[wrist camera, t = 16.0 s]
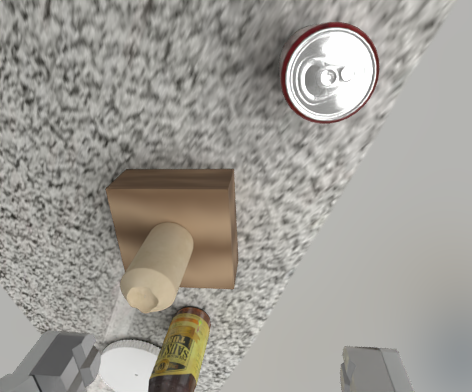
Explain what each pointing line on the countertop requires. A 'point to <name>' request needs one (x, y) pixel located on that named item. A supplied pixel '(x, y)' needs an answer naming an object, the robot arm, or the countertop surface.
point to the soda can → (328, 71)
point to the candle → (158, 268)
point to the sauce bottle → (181, 352)
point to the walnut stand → (180, 218)
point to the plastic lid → (128, 365)
